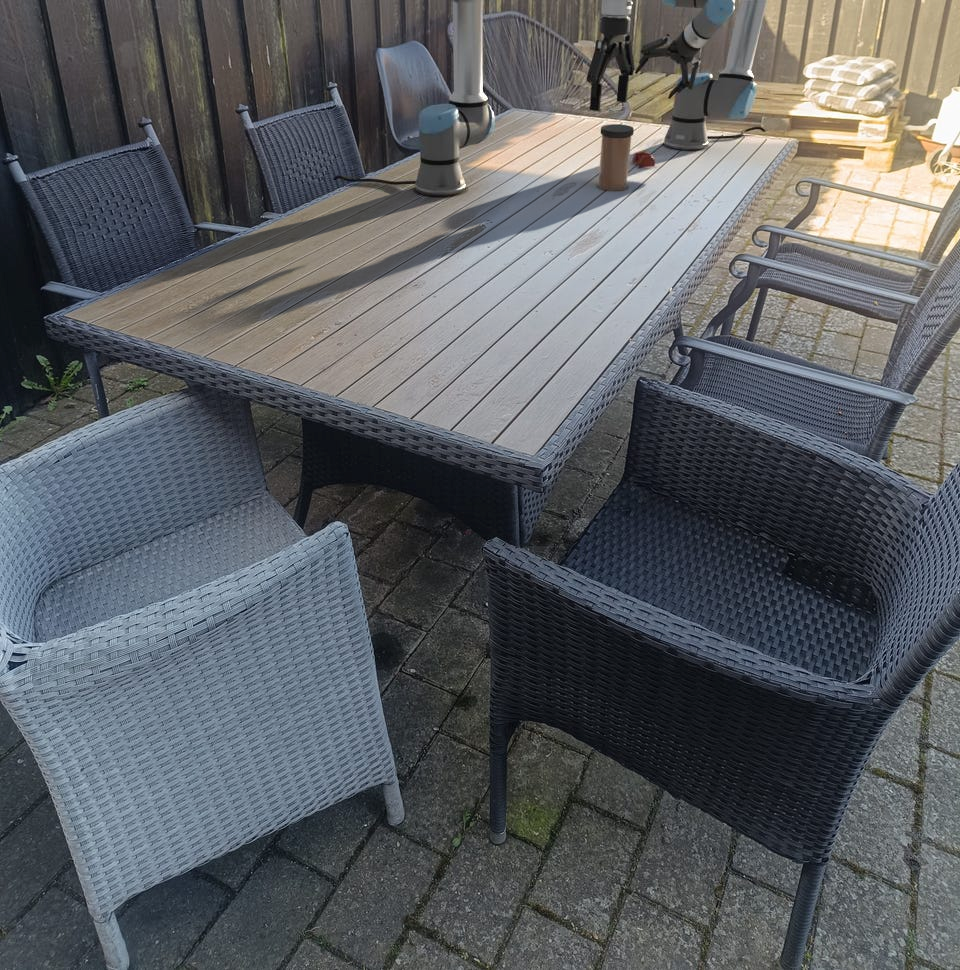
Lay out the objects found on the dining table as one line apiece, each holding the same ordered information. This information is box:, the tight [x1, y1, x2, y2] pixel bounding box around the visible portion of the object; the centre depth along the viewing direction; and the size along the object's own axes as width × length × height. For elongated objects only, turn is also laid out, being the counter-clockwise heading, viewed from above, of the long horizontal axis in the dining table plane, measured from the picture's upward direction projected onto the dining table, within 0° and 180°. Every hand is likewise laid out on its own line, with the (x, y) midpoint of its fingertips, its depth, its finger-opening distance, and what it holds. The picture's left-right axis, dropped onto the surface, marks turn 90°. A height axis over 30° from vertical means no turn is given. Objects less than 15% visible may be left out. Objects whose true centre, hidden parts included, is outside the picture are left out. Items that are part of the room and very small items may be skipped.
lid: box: [600, 123, 635, 138], centre depth 252 cm, size 10×10×2 cm
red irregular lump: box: [632, 150, 656, 168], centre depth 280 cm, size 6×4×8 cm
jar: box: [597, 135, 632, 192], centre depth 256 cm, size 9×9×17 cm
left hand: (608, 106), depth 226 cm, fingers open, 13 cm apart
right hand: (653, 83), depth 273 cm, fingers open, 13 cm apart
